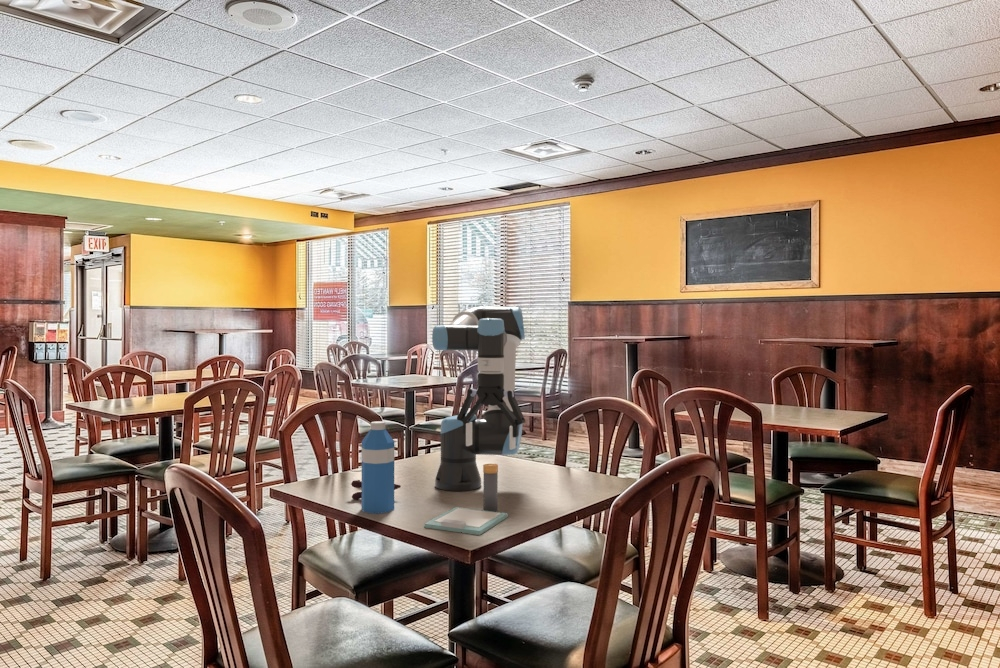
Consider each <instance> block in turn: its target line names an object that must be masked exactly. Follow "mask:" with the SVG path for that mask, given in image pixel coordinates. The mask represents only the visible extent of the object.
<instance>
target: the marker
mask: <svg viewBox="0 0 1000 668" xmlns="http://www.w3.org/2000/svg"><path fill="white" fill-rule="evenodd" d="M482 466H483V468H482V472H483V502H482V503H483V509H482V510H485V511H493V512H498V501H499V500H498V499H499V498H498V493H499V492H498V490H499V489H498V488H499V487H498V484H499V483H498V482H499V481H498V478H499V477H498V476H499V475H498V472H499V465H498V464H497V463H483V465H482Z"/></svg>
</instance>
